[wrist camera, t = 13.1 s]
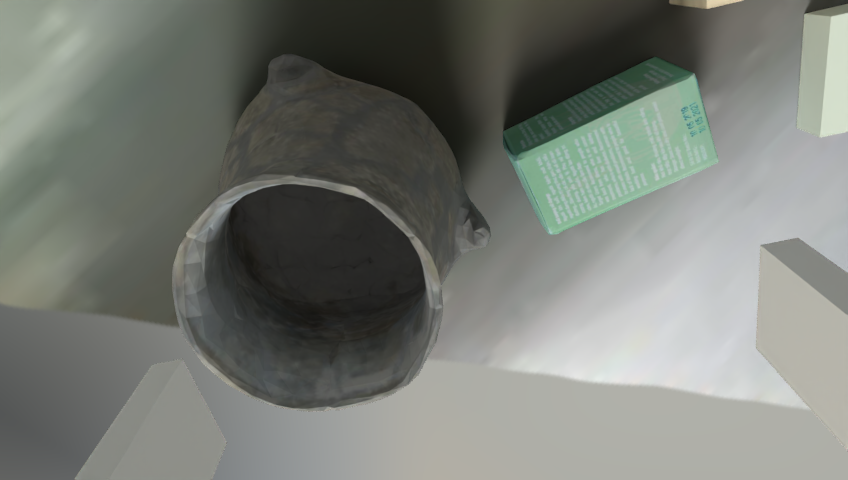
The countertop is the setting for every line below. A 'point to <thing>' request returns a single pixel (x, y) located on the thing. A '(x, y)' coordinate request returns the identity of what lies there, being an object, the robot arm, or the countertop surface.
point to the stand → (824, 73)
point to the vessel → (324, 244)
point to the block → (702, 3)
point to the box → (611, 144)
